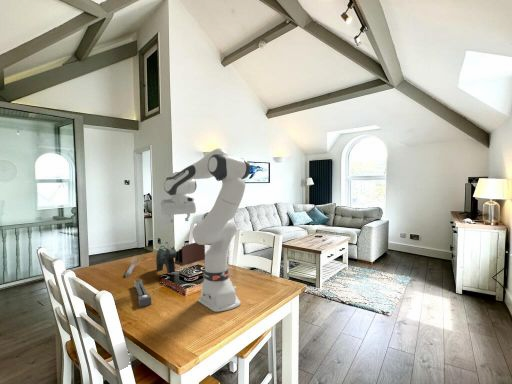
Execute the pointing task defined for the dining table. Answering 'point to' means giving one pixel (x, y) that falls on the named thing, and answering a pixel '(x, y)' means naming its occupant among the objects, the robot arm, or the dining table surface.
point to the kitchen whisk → (131, 268)
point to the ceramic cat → (166, 259)
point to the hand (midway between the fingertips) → (179, 221)
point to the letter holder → (190, 254)
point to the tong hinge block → (144, 300)
